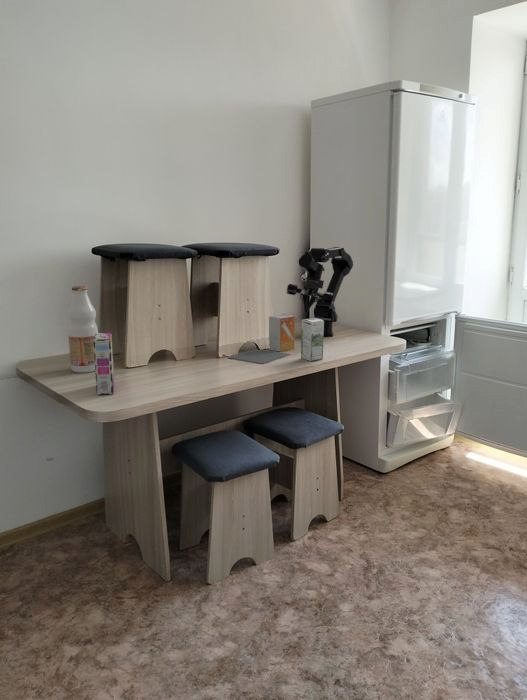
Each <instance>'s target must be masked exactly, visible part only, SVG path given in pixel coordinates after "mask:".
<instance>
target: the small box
mask: <svg viewBox="0 0 527 700" xmlns="http://www.w3.org/2000/svg"><path fill="white" fill-rule="evenodd" d="M295 321H296V319H295V315H290V314H285V313H283V314H277V315H273V316H272V315H271V316H268V350H269V349H271V350H270V351H274V352H278V351H279V352H280V353H282V352H285V350H286V351H290V349H291V350H294V349H295V324H296V323H295ZM269 347H270V348H269Z"/></svg>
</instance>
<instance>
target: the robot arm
mask: <svg viewBox="0 0 527 700" xmlns="http://www.w3.org/2000/svg"><path fill="white" fill-rule="evenodd" d="M330 259H331V260H330ZM329 261H330V263H331V265H332V266H331V267H332V271H333V273H332V276H331V278H330V281H329V282H328V286H327V288H326V291H324V293H320V292H319V289H321V290H322V289H323V287H324V280H321V279H322V276H323V275H322V274H323V272H324V271H325V267H324V265H323V264H321V263H328V262H329ZM298 265H299V267H301V268H302V270H304V271H305V272H306V273H307V274H306V277H305V282H304V285H303V288H299V286H298V285H297V284H294V283H293V284H292V283H289V284H287V288H286V294H287V295H291V296H295V295H297V294H299V299H301V300H302V304H303V313H304V314H305V315H307V314H308V312H309V310H310V309H311V307H312V306H313V305H314V304H315V305H314V308H313V315H314V317H313V318H318V319H321V320H323V321H324V335H323V337H334V334H335V332H333V326H334V325H333V323H337V322H338V318H339V316H338V314H337V312H336V306H335V301H336V299H337V295H338V293H339V290H340V288H341V286H342V283H343V280H344V278H345V277H346V276H348V275H349V274H350V272H351V270H352V269H353V267H354V261H353V259H352V256H351V255H350V254H349V253H348V252H346V250H345V248H344V247H343V246H332V247H330V248H326V247H324V248H323V247H312V248H311V249H310V251H305V252H304V254H303V255H301V257H300V258H299V259H298ZM308 296H309V297H310V298H309V297H308ZM308 298H309V301H308Z"/></svg>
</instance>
